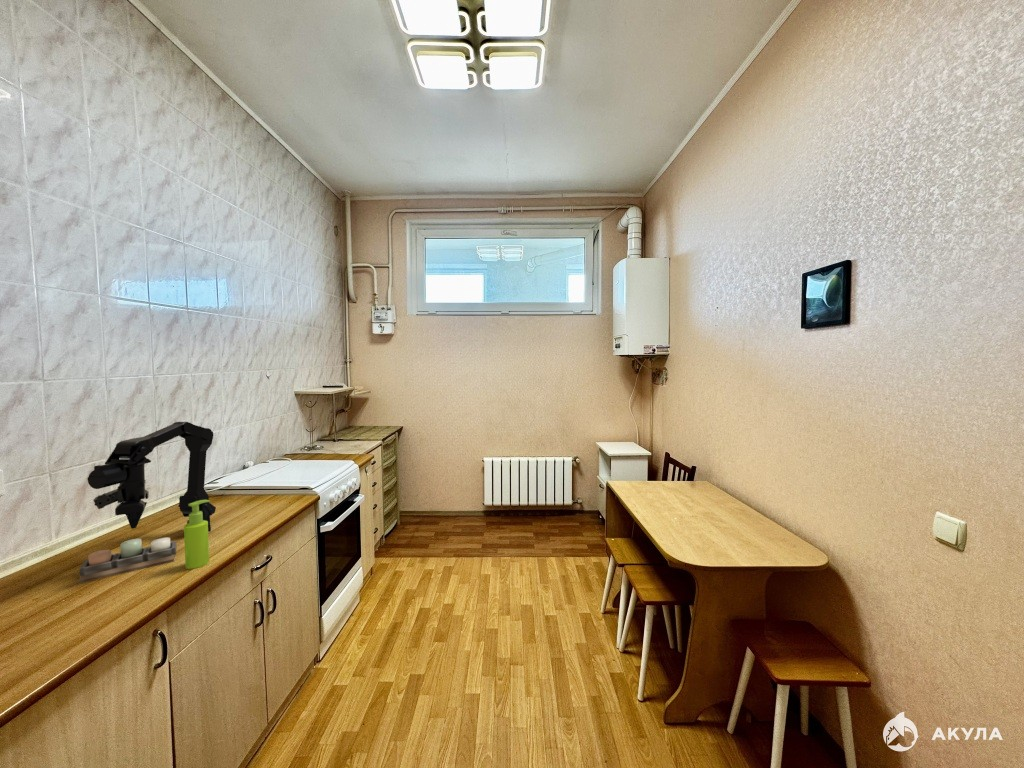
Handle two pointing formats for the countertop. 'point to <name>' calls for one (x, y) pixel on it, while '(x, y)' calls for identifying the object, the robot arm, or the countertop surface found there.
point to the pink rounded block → (99, 557)
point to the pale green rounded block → (131, 548)
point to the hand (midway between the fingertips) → (133, 528)
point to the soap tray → (126, 563)
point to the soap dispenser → (196, 538)
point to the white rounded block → (160, 544)
